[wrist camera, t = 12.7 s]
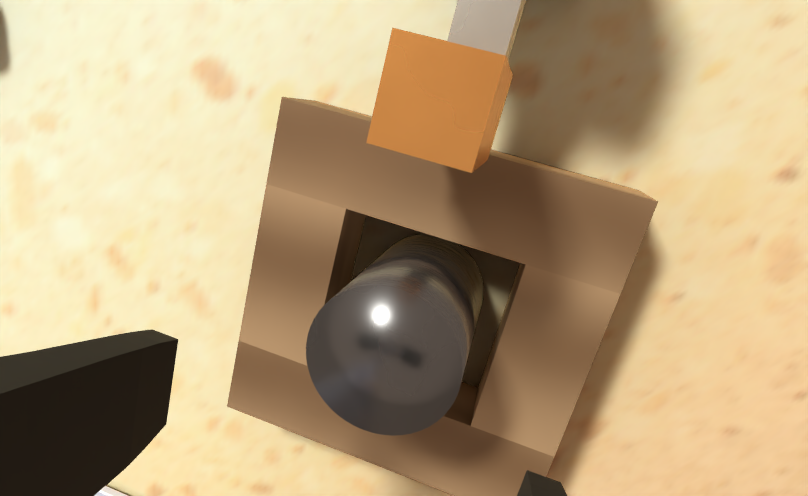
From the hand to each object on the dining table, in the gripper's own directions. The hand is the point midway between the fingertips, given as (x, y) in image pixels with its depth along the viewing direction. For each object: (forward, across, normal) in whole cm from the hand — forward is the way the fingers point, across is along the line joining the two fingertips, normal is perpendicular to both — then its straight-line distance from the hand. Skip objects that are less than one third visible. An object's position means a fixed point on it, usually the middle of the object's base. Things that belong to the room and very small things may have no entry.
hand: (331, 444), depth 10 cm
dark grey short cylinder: (+9, 0, 0) cm, 9 cm away
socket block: (+9, 0, 0) cm, 9 cm away
